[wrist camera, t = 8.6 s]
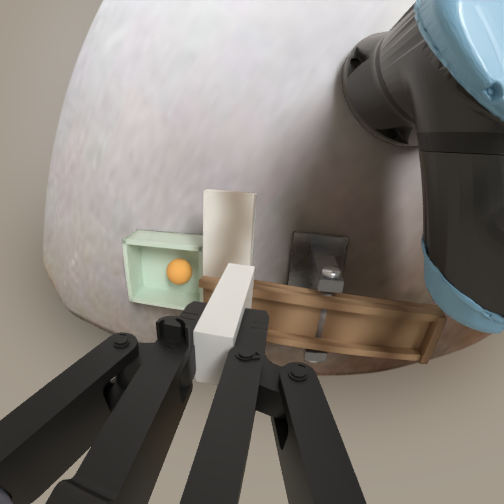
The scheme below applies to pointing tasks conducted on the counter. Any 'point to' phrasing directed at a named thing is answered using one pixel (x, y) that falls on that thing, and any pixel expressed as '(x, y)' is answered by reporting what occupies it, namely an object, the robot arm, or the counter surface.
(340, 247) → the stand
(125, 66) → the counter surface
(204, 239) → the lever
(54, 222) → the counter surface
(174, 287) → the mint green open box
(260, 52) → the counter surface
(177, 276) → the ball
